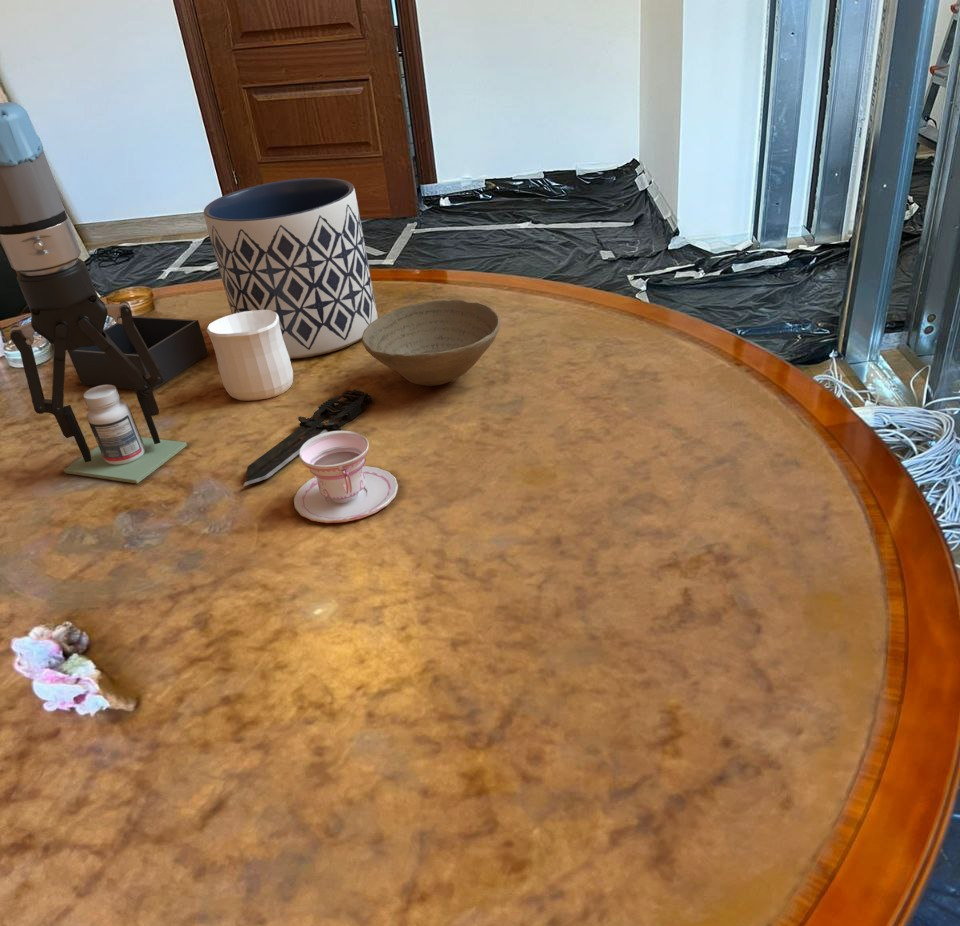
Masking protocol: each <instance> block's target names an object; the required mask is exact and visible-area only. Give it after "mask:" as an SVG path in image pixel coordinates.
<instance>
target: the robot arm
mask: <svg viewBox="0 0 960 926" xmlns="http://www.w3.org/2000/svg"><path fill="white" fill-rule="evenodd" d="M45 154H46V153H45V151H44V146H43V143H42V141H41V138H40V137H39V135H38V134H37V132H36V129H35V126H34V125H33V123H32V120H31V118H30V116H29V113H28V111H27V110H26V109H25V108H24V106H22V105H21V104H19V103H17V102H12V101H11V102H10V101H7V102H0V243H1V246H2V248H3V250H4V253H5V255H6V258H7V259H8V260H7V261H8V262H9V264H10V267H11V268H12V269H13V270H15V271H16V272H18V273H17V274H16V275H17V276H16V281H17V283H18V285H19V288H20V290H21V293H22V295H23V297H24V301H25V302H26V304H27V307H28V309H29V312H30V321H29V322H27V323H24V324H22V325H16V324H15V325H12V326H11V327H10V331H9V337H10V340H11V341H12V343H13V344H14V346H15V347H16V349H17V351H18V352H19V354H20V357H21V362H22V365H23V371H24V374H25V377H26V382H27V386H28V390H29V393H30V397H31V402H32V405H33V409H34V412H35V413H36V414H39V415H43V414H50V415H53V416H54V417H55V420H56V422H57V424H58V426H59V428H60V431H61V433H62V435H63V437H65V438H66V439H68V438H72V437H73V438H74V440H75V442H76V445H77V447H78V449H79V452H80V454H81V457H83V458H84V461H85V462H89V461H91V453H90V451H91V450H90V448H89V446H88V443H87V441H86V439H85V436H84V434H83V432H82V429H81V426H80V425H79V422H78V420H77V418H76V415H75V413H74V411H73V408H72V406H71V404H68V405H65V406H64V399H65V398H64V397H65V395H64V394H65V373H66V355H67V353H68V352H69V351H74V350H76V349H78V348H80V347H91V346H95V344H96V345H97V346H98V347H99V348H100V349H101V350H102V351H103V352H105V353H106V354H107V355H108V356H109V358H110V359H111V360H112V361H113V362H114V363H115V364H116V365H117V366H118V367H119V368H120V369H121V370H122V371H123V372H124V373H125V374H126V375H127V376H128V378H129V379H130V380H131V381H132V382H133V383H134V384H135V385H136V386H137V387H138V388H137V389H135V390H134V392H135V395H136V398H137V401H138V404H139V407H140V409H141V412H142V415H143V417H144V420H145V424H146V426H147V428H148V430H149V433H150V436H151V438H152V439H153V441H154V444H158V443H160V439H161V438H160V437H159V435H160V434H159V433H158V430H157V427H156V424H155V422H154V419H153V417H155V416H159V415H160V409H159V406H158V404H157V403H158V402H157V400H156V398H155V395H154V392H153V391H154V390H153V388H154V387H155V386H156V385H159V384H162V383H163V377H162V374H161V371H160V369H159V367H158V366H157V364H156V362H155V360H154V358H153V357H152V355H151V353H150V351H149V349H148V348H147V346H146V344H145V342H144V340H143V339H142V337H141V335H140V333H139V331H138V330H137V328H136V326H135V324H134V322H133V318H132V316H133V312H132V309H131V305H130V303H129V302H128V301H126V300H121V301H120V302H119V303H115V304H105V302H104V301H103V300H101V298H100V297H99V295H98V293H97V291H96V288H95V285H94V283H93V280H92V277H91V275H90V272H89V269H88V267H87V264H86V261H83V259H81V258H79V257H80V256H81V253H82V251H81V248H80V244H79V243H78V240H77V237H76V235H75V232H74V230H73V226H72V224H71V221H70V218H69V216H68V215H67V212H66V209H65V207H64V204H63V201H62V199H61V195H60V193H59V190H58V187H57V184H56V182H55V179H54V175H53V174H52V171H51V167H50V165H49V162H48V159H47V156H46V155H45ZM108 316H109V317H111V318H113V320H114V322H115V323H118V324H123V327H124V330H125V332H126V334H127V336H128V337H129V339H130V341H131V343H132V344H133V346H134V348H135V350H136V352H137V353H138V355H139V357H140V359H141V360H142V362H143V364H144V366H145V367H146V369H147V371H148V373H149V374H148V375H146V376H144V375H143V373H142V372H141V371H140V370H139V369H138V368H137V367H136V366H135V365H134V364H133V363H132V362H131V361H130V360H129V358H128V357H127V356H126V355H125V354H124V353H123V352H122V351H121V350H120V349H119V348H118V347H117V346H116V344H115V343H114V342H113V341H112V340H111V339H110V337H109V336H108V335H107V334H106V333H105V332H104V331H103V330H104V329H105V325H106V322H107V319H108ZM36 333H37V334H38V335H40V336H41V337H43V338H44V339H45V340H47V341H48V342H50V343H51V344H53V352H52V353H53V356H52V383H51V384H52V385H51V398H45V395H44V390H43V387H42V382H41V377H40V374H39V370H38V366H37V362H36V357H35V354H34V349H33V347H32V345H34V342H35V336H34V334H36ZM162 385H163V384H162ZM152 390H153V391H152Z"/></svg>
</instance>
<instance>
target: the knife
mask: <svg viewBox="0 0 960 926" xmlns="http://www.w3.org/2000/svg"><path fill="white" fill-rule="evenodd" d="M341 399H344V400H341ZM372 401H373V399H372V394H369V393H368V392H365V391H363V390H359V389H352V390H344V391H343V392H342V393H341V394H339V395H337V396H335V397H331V398H328V399H327V400H325V401H324V402H322V404H320V405H318V407H317V408H318V409H316V410H314V412H313V414H312V415H311V417H305V416H298V417H297V420H298V422H300V423H299V427H298V428H297V429H295V430H294V431H293V432H292V433H290V434H289V435H287V436H286V437H285V438H283V439H282V440H281V441H280V442H278V443H277V444H275V445H274V446H273V447H272V448H270V449H269V450H267V451H266V452H265V453H264V454H262V455H261V456H259V457H258V458H257V459H256V460H254V461H253V462H252V463H250V464H249V465H247V468H246V473H245V474H246V475H245V479H247V480H245V481H244V483H243V485H242V486H243V487H245V486H249V485H251V484H255V483H258V482H261V481H263V480H267V479H270V477H272V476H273V475H274V474H276V473H277V472H278V471H279V470H280V469H282V468H283V467H285V466H286V465H287V464H288V463H290V462H291V461H292V460H294V459H295V458H296V457H298V456H299V451H300V449H301V447H302V445H303V444H304V443H305V442H306V441H308V440H309V439H311V438H313V437H315V436H317V435H319V434H322V433H326V432H331V431H342V429H341V428H340V427H342V426H344V425H345V424H347V423H348V422H352V421H353V420H355V419H356V418H357V417H358V416H360V415H361V414H362V413H363V412H364V411H365V408H366V406H367V405H368V404H370V403H371V402H372ZM344 405H345V406H344ZM331 417H332V418H331ZM327 418H331V419H330V420H328V421H325V422H323V421H324V420H326V419H327ZM339 419H341V420H340V421H337V420H339Z"/></svg>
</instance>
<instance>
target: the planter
mask: <svg viewBox="0 0 960 926" xmlns="http://www.w3.org/2000/svg"><path fill="white" fill-rule="evenodd" d="M360 215H361V214H360V211H359V205H358V199H357V194H356V189H355V187H354V184H353V183H352V182H350V181H347V180H345V179H340V178H333V177H332V178H331V177H307V178H306V177H305V178H293V179H286V180H278V181H273V182H268V183H263V184H258V185H253V186H249V187H246V188H243V189H238V190H236V191H233V192H229V193H227V194H225V195H222V196H219V197H218V198H216V199H214V200H212V201H211V202H209V203H208V204H206V206H205V207H204V209H203V217H204V221H205V224H206V225H205V226H206V228H207V231H208V236H209V239H210V243H211V246H212V250H213V253H214V257H215V260H216V264H217V267H218V272H219V274H220V278H221V282H222V285H223V289H224V292H225V296H226V299H227V302H228V306H229V310H230V313H231V315H232V314H235V313H240V312H245V311H254V310H271V311H274V312H276V313H277V314H278V316H279V325H280V329H281V333H282V337H283V340H284V343H285V346H286V349H287V352H288V355H289V358H290V360H293V359H294V360H295V359H303V358H304V359H305V358H312V357H317V356H321V355H326V354H329V353H334V352H337V351H339V350H342V349H344V348H347V347H349V346H352V345H354V344H355V343H358V342H359V341H362V336H363V332H364V330H365V329H366V328H367V327H368V326H369V324H371V323H372V322H373V321H375V320H376V319H378V318H379V315H378V310H377V305H376V300H375V293H374V287H373V283H372V275H371V269H370V264H369V260H368V254H367V248H366V243H365V238H364V232H363V227H362V221H361V216H360Z"/></svg>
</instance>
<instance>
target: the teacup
mask: <svg viewBox="0 0 960 926" xmlns="http://www.w3.org/2000/svg"><path fill="white" fill-rule="evenodd" d="M369 451H370V443H369V440H368V438H366V437H365V436H364V435H362V434H361V433H359V432H357V431H353V430H352V431H351V430H341V431H331V432H326V433H322V434H319V435H317V436H315V437H313V438H311V439H309V440H308V441H306V442H305V443H304V444H303V445H302V447H301V449H300V451H299V454H298V456H299V461H300V463H301V464H302V465H303V466H304V467H305V468H307V469H308V470H309V471H310V473H311V474H312V475H313V476H314V477H313V478H311V479H309V480H307V481H305V482H304V484H302V485H301V487H299V488H298V489H297V492H296V493H295V495H294V496H293V497H294V498H293V503H294V509H295V510H296V511H297V512H298V514H299V515H300V516H301V517H303V518H306V519H308V520H310V521H312V522H317V523H319V522H320V523H325V524H333V523H346V522H347V523H348V522H350V521H351V522H352V521H355V520H356V521H357V520H360V519H363V518H366V517H369V516H371V515H373V514H377V512H379V511H381V510H382V509H384V508H385V507H388V506H389V505H390V503H391V502H392V501H393V500H394V499H395V498H396V496H397V493H398V490H399V485H398V481H397V478H396V477H395V476H394V475H393V474H391V472H389V471H388V470H385V469H382V468H380V467H376V466H367V465H366V462H367V458H366V457H367V455H368V453H369Z"/></svg>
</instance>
